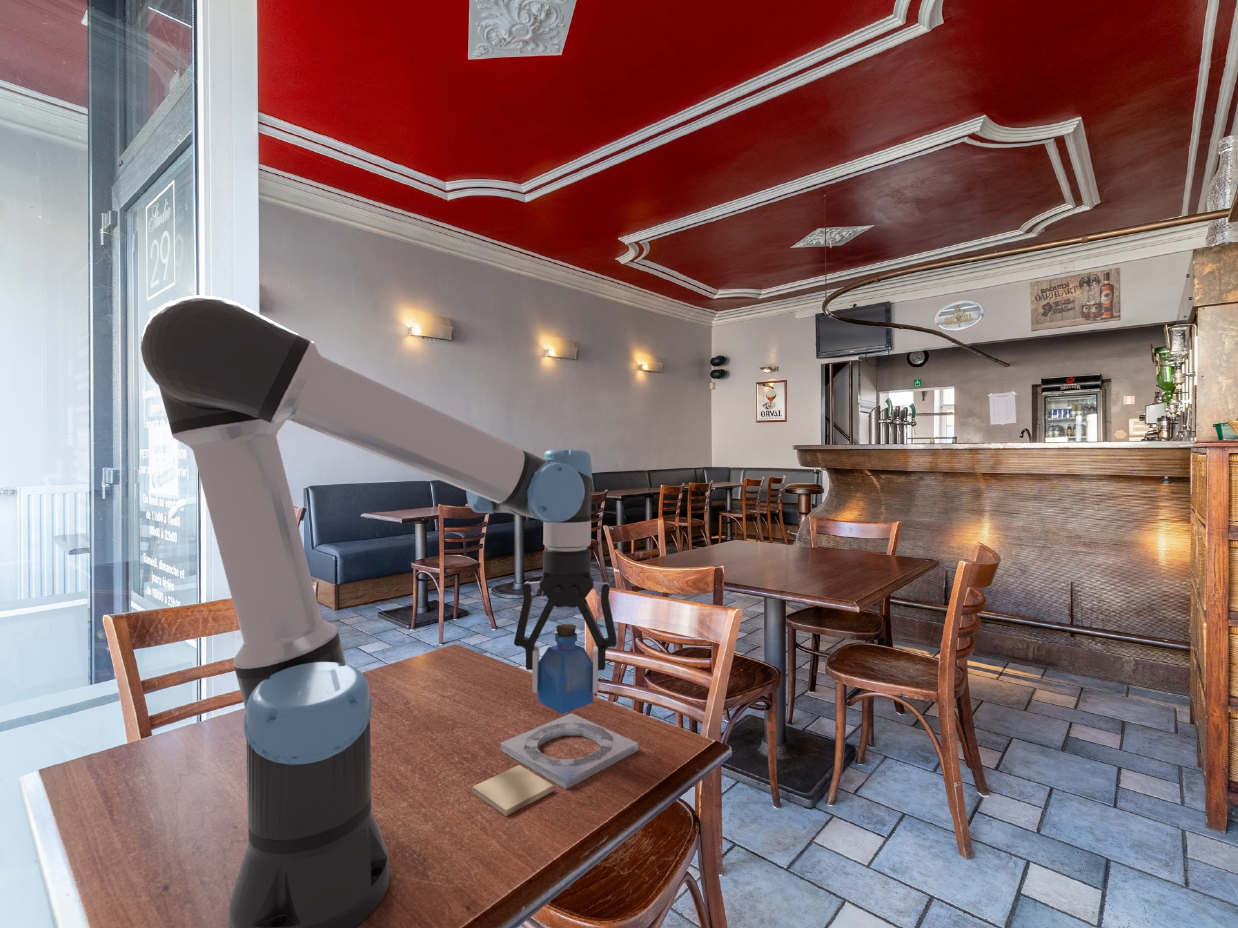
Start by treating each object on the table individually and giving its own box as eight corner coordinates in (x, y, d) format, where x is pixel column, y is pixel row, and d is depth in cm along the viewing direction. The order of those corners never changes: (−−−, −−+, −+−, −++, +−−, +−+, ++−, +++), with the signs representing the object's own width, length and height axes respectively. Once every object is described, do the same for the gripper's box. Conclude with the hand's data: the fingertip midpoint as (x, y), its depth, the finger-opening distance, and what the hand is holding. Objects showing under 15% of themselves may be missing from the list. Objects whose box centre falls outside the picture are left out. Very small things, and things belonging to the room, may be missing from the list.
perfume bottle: (568, 691, 98) (569, 619, 98) (593, 702, 94) (593, 627, 94) (537, 701, 94) (538, 626, 94) (562, 713, 90) (562, 634, 90)
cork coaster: (505, 816, 77) (505, 810, 77) (472, 792, 83) (472, 786, 83) (553, 790, 83) (553, 785, 83) (519, 769, 89) (519, 764, 89)
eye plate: (566, 789, 84) (566, 780, 84) (500, 750, 95) (500, 742, 95) (638, 750, 94) (638, 742, 94) (571, 719, 105) (571, 712, 105)
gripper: (634, 544, 98) (632, 681, 98) (503, 543, 98) (501, 680, 98) (635, 551, 90) (634, 699, 90) (494, 550, 90) (492, 698, 90)
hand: (565, 689), depth 94 cm, fingers closed on perfume bottle, 9 cm apart
